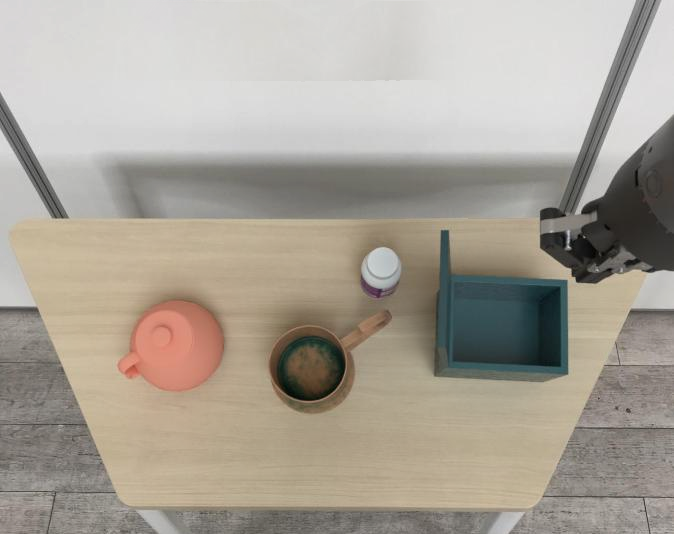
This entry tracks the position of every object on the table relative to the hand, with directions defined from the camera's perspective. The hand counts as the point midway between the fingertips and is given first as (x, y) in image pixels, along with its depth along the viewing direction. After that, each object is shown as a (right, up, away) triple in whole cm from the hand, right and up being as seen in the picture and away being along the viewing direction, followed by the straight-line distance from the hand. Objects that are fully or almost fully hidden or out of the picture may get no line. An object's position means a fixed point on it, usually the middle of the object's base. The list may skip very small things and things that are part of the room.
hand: (584, 270), depth 47 cm
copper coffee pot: (-20, -8, +37) cm, 43 cm away
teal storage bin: (+2, -5, +37) cm, 38 cm away
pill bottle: (-13, +3, +39) cm, 41 cm away
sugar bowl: (-41, -7, +38) cm, 57 cm away
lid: (-7, -2, +20) cm, 21 cm away
